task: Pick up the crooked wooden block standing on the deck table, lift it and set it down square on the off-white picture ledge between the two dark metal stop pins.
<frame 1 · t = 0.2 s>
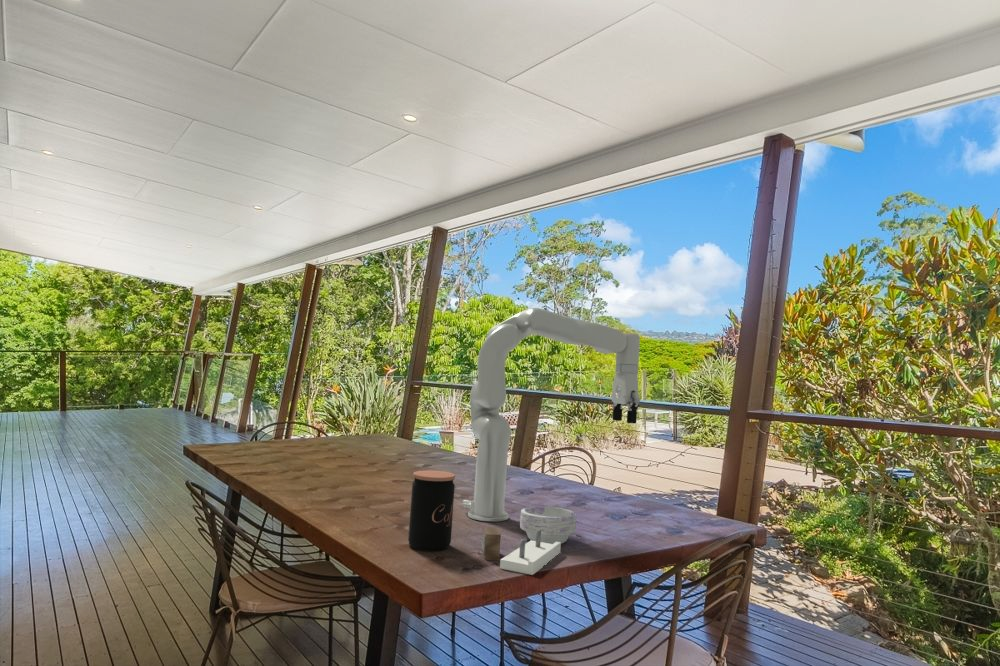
hand: (624, 421, 206), 31 cm above the table, tool pointing down, fingers open, 9 cm apart
ledge: (531, 560, 149), on the table
wooden block: (490, 555, 151), on the table
paper bowls: (546, 541, 169), on the table
coffee jar: (429, 546, 156), on the table
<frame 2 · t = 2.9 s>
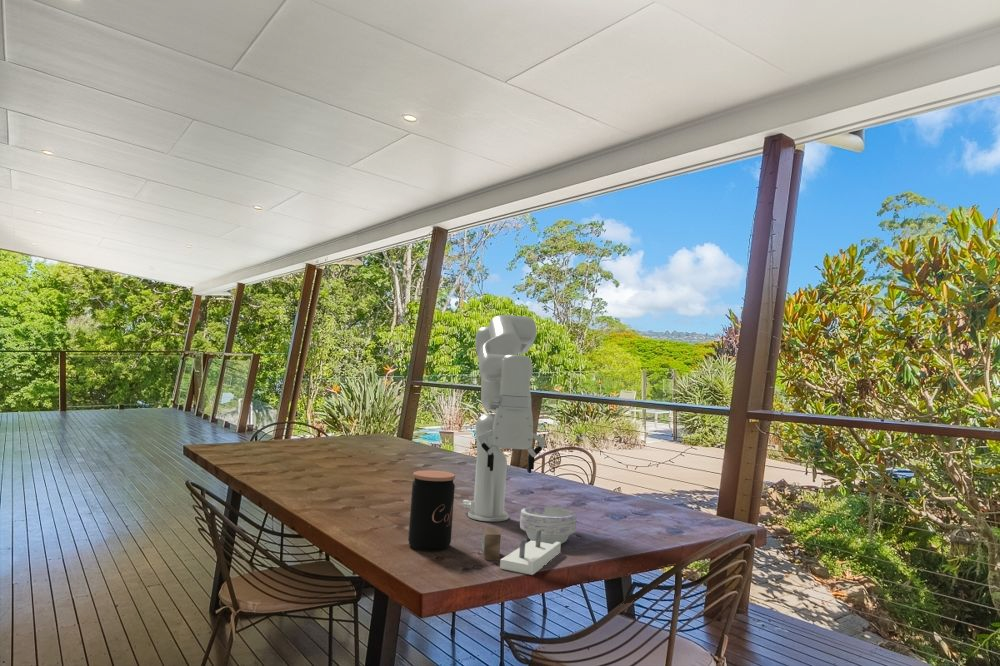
hand: (510, 471, 157), 20 cm above the table, tool pointing down, fingers open, 9 cm apart
nothing on the table moved.
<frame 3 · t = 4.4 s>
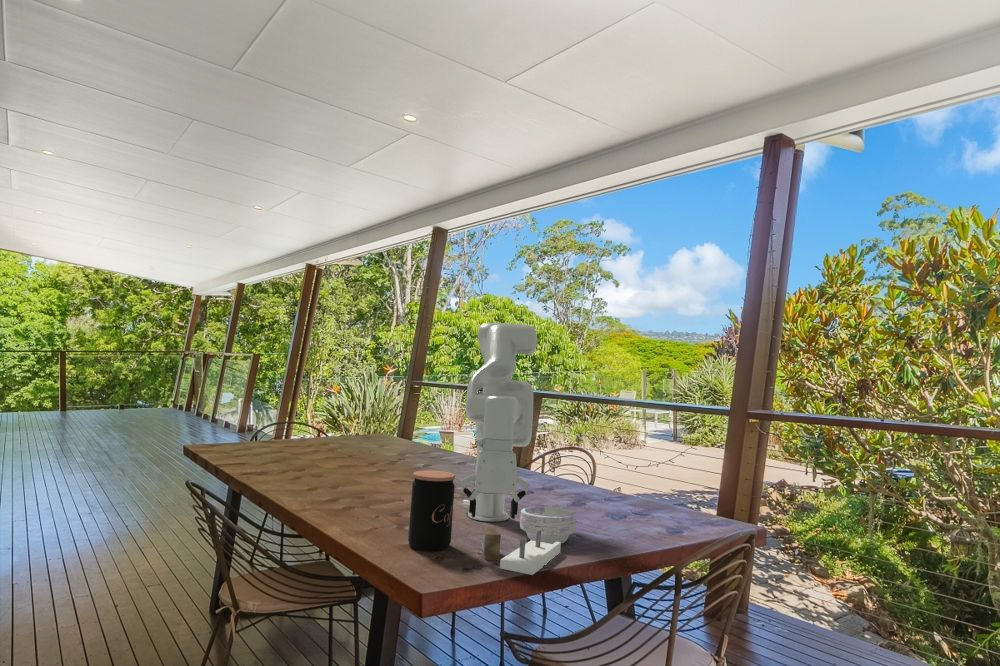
hand: (492, 516, 151), 9 cm above the table, tool pointing down, fingers open, 9 cm apart
nothing on the table moved.
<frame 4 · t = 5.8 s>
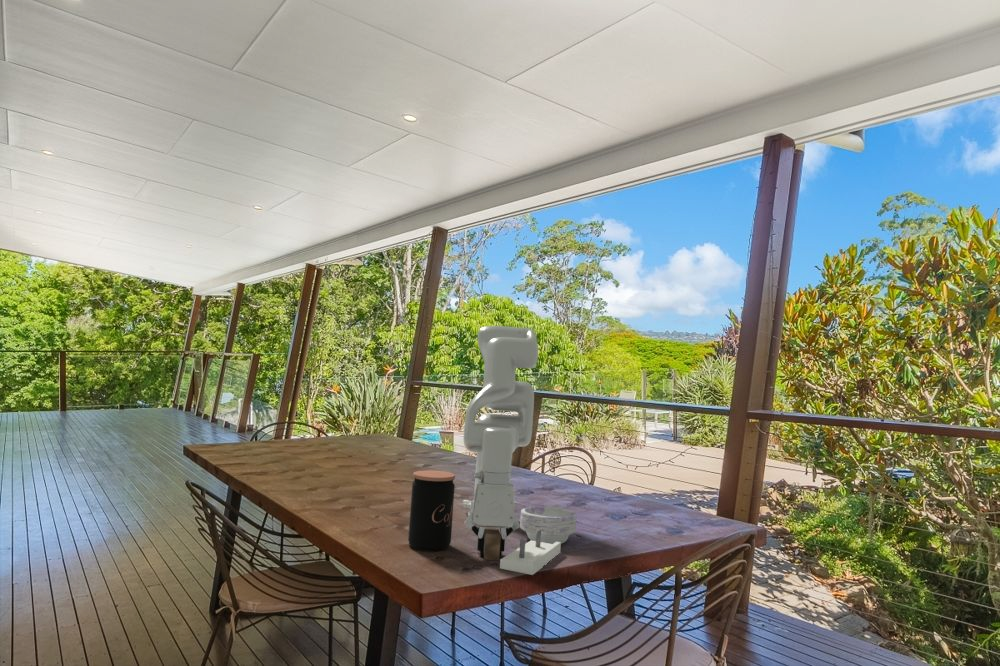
hand: (490, 553, 151), 0 cm above the table, tool pointing down, fingers closed on wooden block, 3 cm apart
wooden block: (490, 555, 151), on the table, touching gripper
everything else where it was.
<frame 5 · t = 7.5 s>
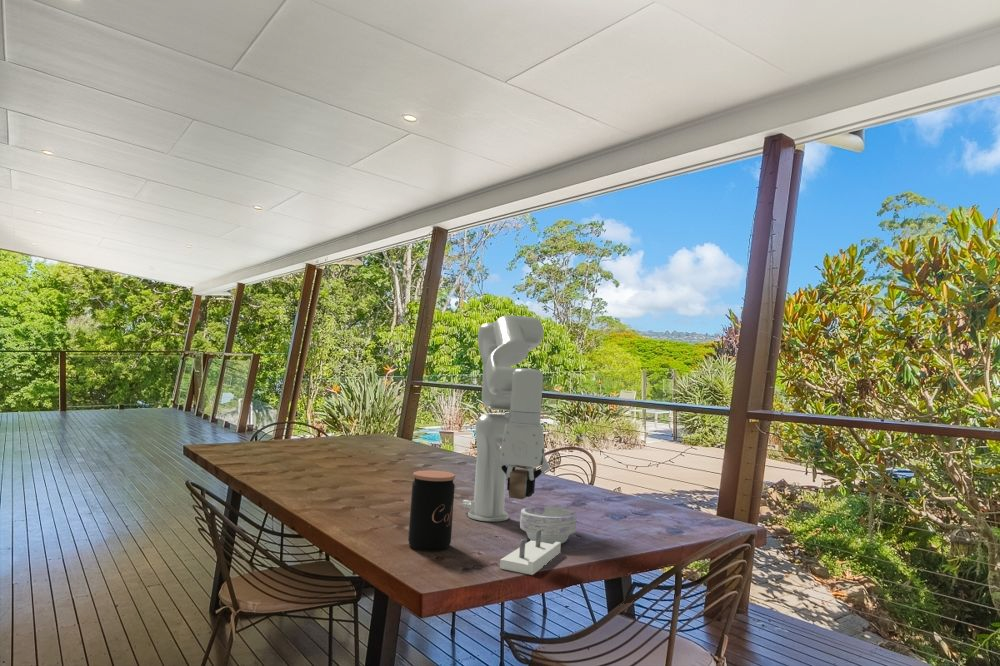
hand: (520, 494, 151), 15 cm above the table, tool pointing down, fingers closed on wooden block, 3 cm apart
wooden block: (520, 495, 151), point 15 cm above the table, touching gripper
everything else where it was.
when the fingers open (3 cm above the table, at t = 9.3 s): wooden block drops 1 cm, resting on ledge.
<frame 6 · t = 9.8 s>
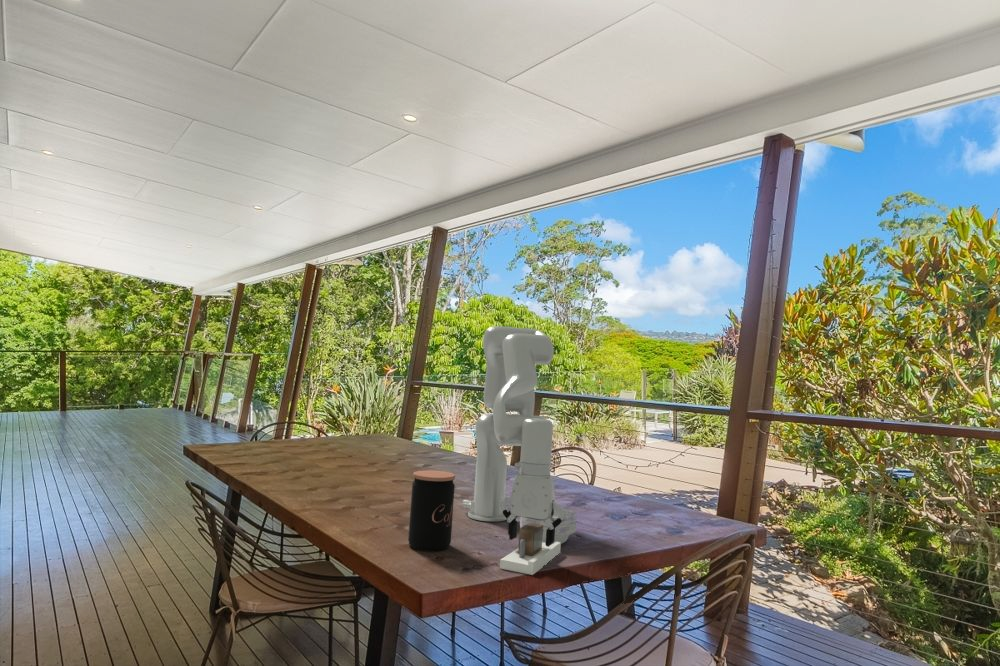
hand: (530, 541, 150), 4 cm above the table, tool pointing down, fingers open, 9 cm apart
wooden block: (530, 551, 150), point 2 cm above the table, touching ledge
everything else where it was.
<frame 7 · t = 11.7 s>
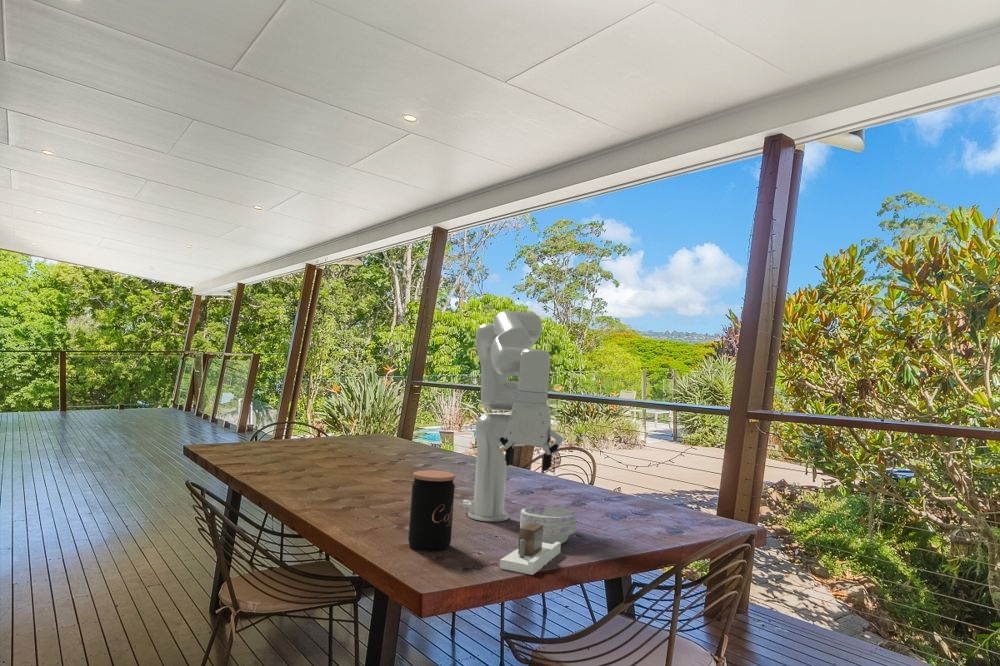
hand: (527, 467, 154), 21 cm above the table, tool pointing down, fingers open, 9 cm apart
nothing on the table moved.
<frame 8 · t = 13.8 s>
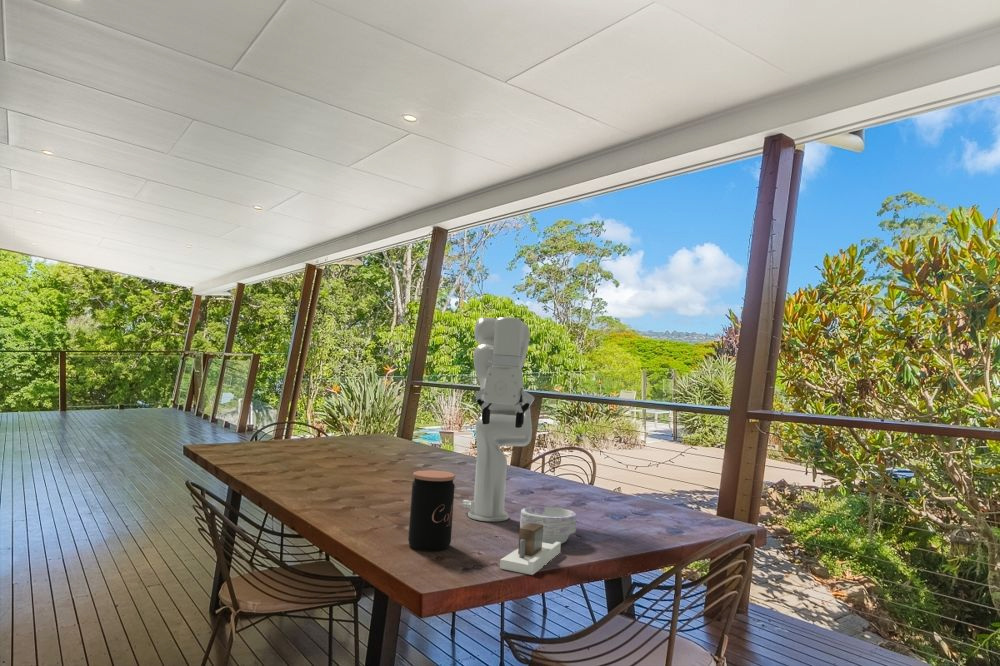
hand: (502, 425, 168), 30 cm above the table, tool pointing down, fingers open, 9 cm apart
nothing on the table moved.
at the end: wooden block inside the target area on the ledge (0.1 cm from its centre), point 2.0 cm above the ledge's base; wooden block tilted 0°; the gripper is holding nothing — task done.
